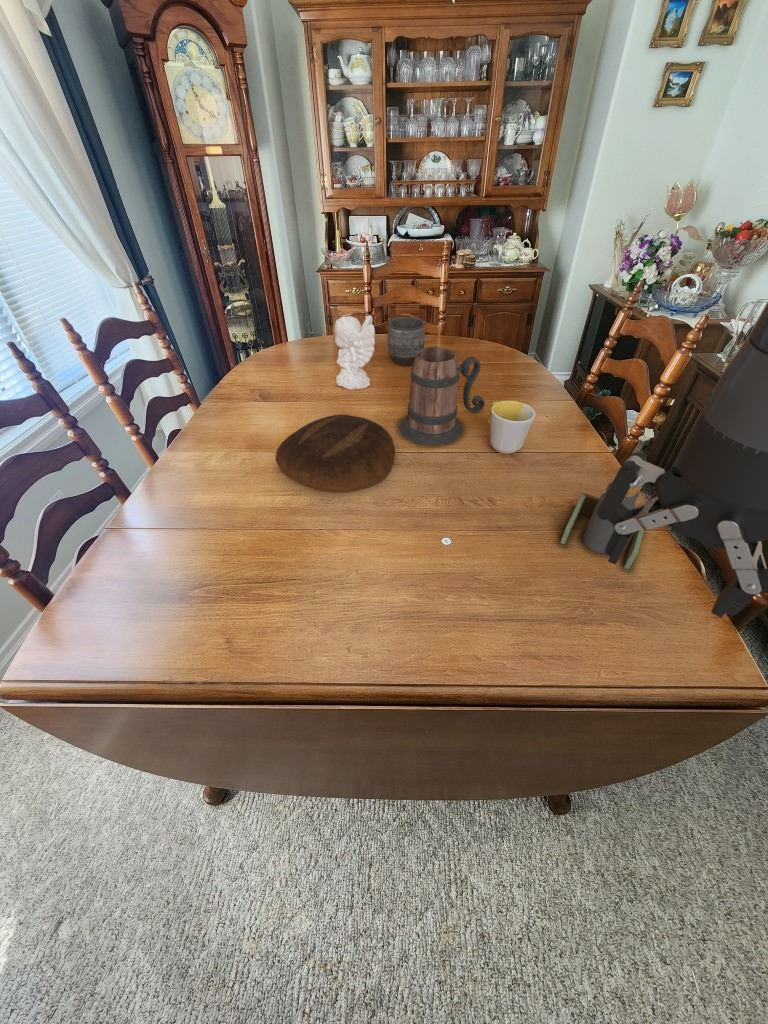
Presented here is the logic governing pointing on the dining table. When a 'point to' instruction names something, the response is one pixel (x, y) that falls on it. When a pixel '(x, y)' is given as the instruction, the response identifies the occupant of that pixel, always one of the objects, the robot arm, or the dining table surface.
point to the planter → (405, 339)
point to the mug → (509, 425)
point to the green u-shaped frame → (587, 508)
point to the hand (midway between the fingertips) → (663, 582)
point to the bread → (337, 454)
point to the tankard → (438, 396)
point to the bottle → (605, 522)
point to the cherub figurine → (354, 351)
